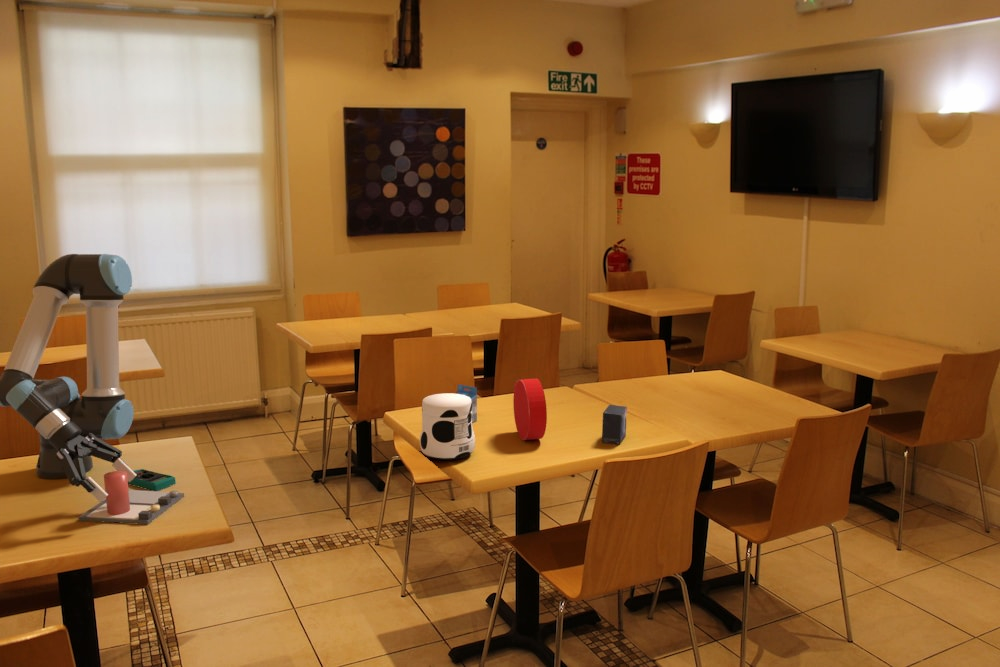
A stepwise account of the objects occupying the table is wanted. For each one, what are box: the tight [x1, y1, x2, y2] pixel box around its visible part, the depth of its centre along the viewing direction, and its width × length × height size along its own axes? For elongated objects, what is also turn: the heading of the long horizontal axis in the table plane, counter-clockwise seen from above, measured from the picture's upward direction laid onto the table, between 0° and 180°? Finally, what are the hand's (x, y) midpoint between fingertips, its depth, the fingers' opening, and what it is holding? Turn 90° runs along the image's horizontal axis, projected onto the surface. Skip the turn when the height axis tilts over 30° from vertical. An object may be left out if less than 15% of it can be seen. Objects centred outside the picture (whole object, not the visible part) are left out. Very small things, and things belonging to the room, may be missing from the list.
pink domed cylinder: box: [103, 470, 130, 515], centre depth 227 cm, size 6×6×10 cm
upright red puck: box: [512, 378, 548, 441], centre depth 288 cm, size 20×6×20 cm, turn 14°
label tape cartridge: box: [454, 384, 478, 424], centre depth 309 cm, size 9×4×12 cm, turn 55°
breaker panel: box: [78, 489, 185, 525], centre depth 232 cm, size 19×19×3 cm
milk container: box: [419, 392, 476, 461], centre depth 272 cm, size 17×17×18 cm
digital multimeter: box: [128, 468, 176, 491], centre depth 250 cm, size 7×15×3 cm, turn 61°
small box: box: [601, 404, 628, 446], centre depth 287 cm, size 11×6×10 cm, turn 161°
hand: (119, 488), depth 226 cm, fingers open, 13 cm apart
